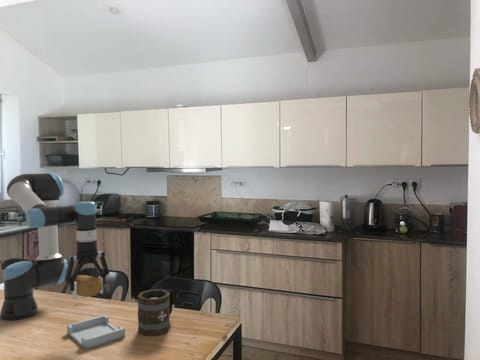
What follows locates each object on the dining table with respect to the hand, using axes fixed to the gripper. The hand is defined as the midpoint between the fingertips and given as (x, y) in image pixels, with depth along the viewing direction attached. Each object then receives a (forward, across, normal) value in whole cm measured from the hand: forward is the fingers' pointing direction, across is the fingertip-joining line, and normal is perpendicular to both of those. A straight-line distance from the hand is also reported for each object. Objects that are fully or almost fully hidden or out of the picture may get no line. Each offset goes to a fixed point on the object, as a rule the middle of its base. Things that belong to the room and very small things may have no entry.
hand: (88, 295), depth 157 cm
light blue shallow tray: (+16, +2, -1) cm, 17 cm away
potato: (0, 0, 0) cm, 0 cm away
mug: (+17, +26, -11) cm, 32 cm away
